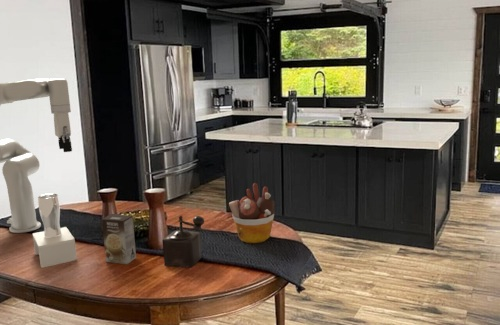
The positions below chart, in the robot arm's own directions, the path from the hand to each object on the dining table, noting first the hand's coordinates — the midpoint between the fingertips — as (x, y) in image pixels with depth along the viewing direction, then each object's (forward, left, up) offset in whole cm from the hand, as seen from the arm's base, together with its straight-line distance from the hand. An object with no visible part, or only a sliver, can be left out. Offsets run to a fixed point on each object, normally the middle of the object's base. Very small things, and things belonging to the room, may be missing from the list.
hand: (65, 150), depth 204 cm
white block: (+14, -29, -34) cm, 47 cm away
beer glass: (+14, -28, -26) cm, 41 cm away
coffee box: (+40, -26, -34) cm, 59 cm away
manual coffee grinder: (+65, -22, -35) cm, 77 cm away
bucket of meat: (+80, +5, -34) cm, 87 cm away
